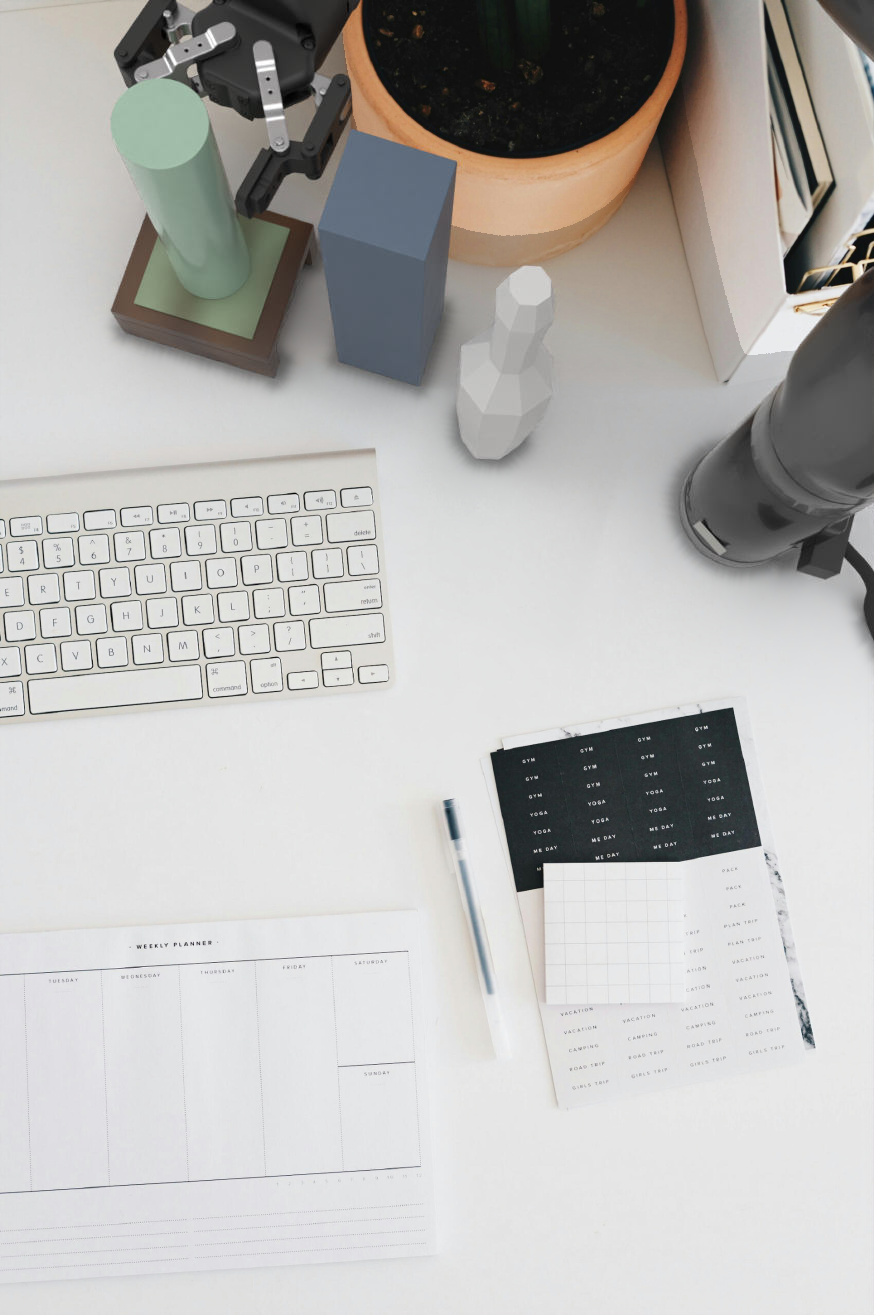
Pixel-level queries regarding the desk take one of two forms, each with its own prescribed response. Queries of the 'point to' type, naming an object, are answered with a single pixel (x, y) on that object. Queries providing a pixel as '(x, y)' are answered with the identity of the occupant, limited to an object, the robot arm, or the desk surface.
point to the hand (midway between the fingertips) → (182, 179)
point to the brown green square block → (229, 324)
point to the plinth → (387, 253)
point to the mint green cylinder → (182, 184)
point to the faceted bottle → (508, 368)
